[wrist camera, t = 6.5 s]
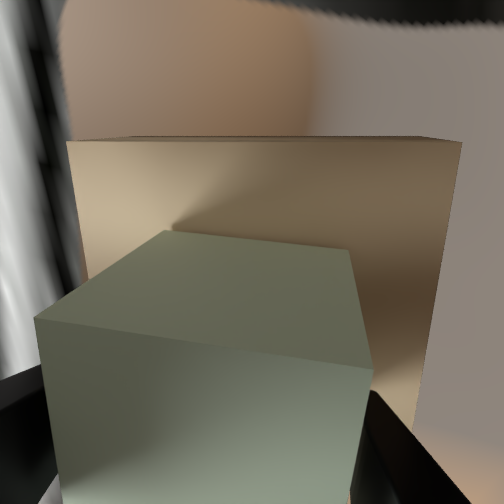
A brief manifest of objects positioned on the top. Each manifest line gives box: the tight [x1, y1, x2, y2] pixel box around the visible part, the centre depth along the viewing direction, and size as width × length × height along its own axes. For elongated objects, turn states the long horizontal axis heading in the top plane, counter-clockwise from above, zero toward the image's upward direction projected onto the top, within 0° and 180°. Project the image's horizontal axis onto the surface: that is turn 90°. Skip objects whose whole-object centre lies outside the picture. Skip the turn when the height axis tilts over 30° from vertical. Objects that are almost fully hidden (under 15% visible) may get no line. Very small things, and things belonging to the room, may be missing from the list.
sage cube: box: [34, 230, 374, 504], centre depth 8 cm, size 5×5×5 cm
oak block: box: [66, 136, 462, 433], centre depth 13 cm, size 10×10×4 cm
